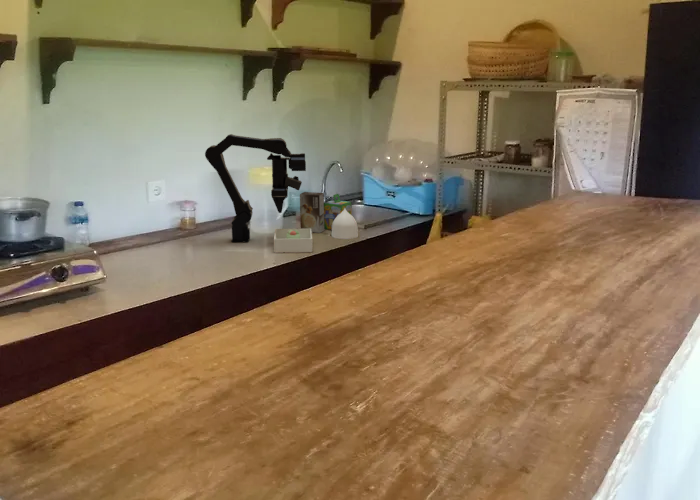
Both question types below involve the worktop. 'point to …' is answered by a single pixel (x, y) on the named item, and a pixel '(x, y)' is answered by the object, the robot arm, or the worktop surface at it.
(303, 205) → the coffee box
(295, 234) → the salad portion
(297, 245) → the serving bin
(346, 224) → the teardrop
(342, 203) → the chalk box
